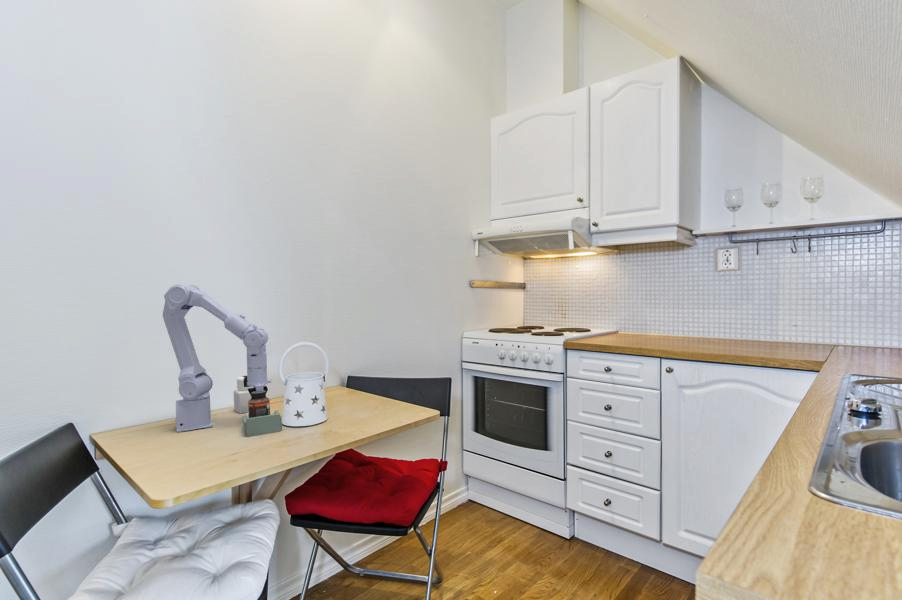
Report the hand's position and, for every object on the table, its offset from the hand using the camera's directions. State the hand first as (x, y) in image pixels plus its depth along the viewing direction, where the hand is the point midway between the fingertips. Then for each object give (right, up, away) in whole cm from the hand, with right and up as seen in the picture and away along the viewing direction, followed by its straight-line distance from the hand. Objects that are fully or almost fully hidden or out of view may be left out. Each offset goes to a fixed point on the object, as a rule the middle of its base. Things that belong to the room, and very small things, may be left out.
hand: (258, 410), depth 142 cm
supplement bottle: (+4, -4, -7) cm, 9 cm away
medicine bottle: (-11, -4, +17) cm, 20 cm away
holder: (+5, -4, -8) cm, 10 cm away
